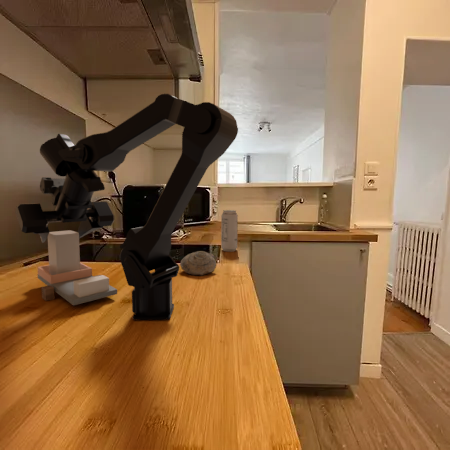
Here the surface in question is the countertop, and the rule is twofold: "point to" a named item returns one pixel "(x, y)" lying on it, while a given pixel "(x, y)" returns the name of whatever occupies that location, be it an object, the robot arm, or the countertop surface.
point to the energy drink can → (229, 230)
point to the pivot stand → (49, 292)
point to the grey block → (63, 252)
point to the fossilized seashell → (198, 263)
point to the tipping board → (70, 295)
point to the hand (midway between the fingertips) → (60, 238)
